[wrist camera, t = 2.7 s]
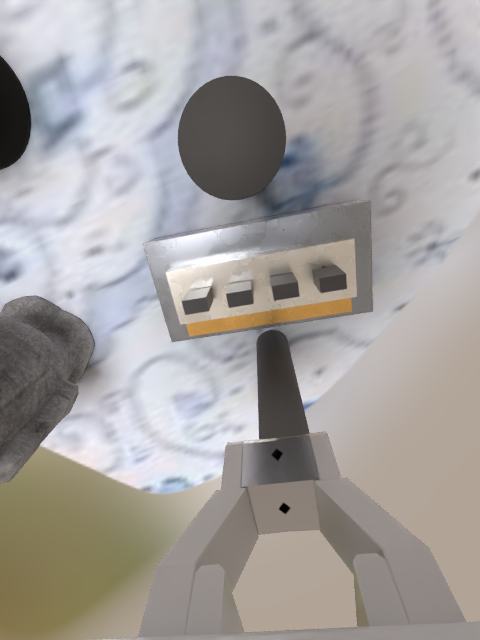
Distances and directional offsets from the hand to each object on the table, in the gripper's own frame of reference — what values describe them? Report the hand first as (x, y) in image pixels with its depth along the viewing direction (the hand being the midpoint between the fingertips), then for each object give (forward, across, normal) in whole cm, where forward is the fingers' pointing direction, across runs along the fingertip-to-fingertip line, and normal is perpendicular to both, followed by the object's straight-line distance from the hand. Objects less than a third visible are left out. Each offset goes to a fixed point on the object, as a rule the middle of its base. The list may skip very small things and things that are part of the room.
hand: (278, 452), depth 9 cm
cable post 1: (+24, 0, -9) cm, 26 cm away
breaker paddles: (+19, 0, 0) cm, 19 cm away
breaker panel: (+25, 0, 0) cm, 25 cm away
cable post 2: (+25, 0, +9) cm, 26 cm away
